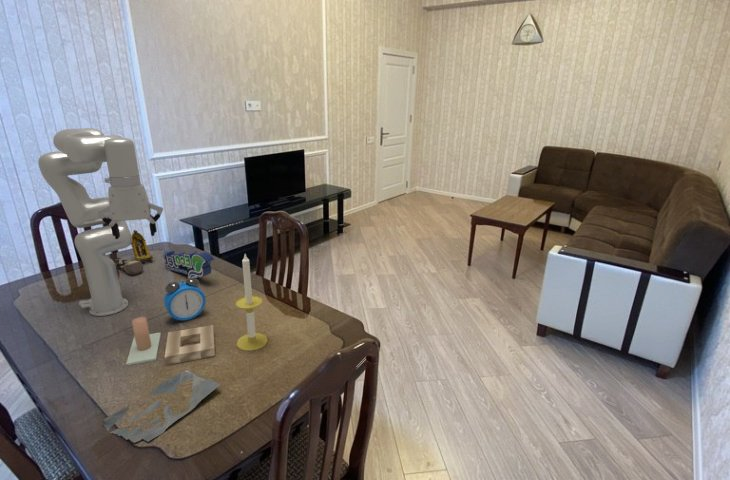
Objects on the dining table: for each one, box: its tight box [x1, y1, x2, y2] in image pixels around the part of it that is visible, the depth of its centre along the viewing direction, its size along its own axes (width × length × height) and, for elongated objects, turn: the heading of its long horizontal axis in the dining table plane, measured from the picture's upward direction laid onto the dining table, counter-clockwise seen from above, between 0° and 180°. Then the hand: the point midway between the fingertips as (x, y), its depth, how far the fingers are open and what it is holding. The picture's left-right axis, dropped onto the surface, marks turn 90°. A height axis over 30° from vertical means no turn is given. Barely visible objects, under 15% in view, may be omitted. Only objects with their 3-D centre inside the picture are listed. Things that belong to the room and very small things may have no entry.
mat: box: [125, 332, 162, 367], centre depth 126 cm, size 8×15×1 cm, turn 21°
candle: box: [235, 253, 269, 352], centre depth 126 cm, size 10×10×32 cm
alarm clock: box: [163, 277, 207, 323], centre depth 142 cm, size 13×6×15 cm, turn 128°
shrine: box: [130, 229, 154, 262], centre depth 189 cm, size 12×8×15 cm
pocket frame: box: [164, 324, 216, 366], centre depth 127 cm, size 14×14×3 cm
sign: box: [162, 249, 215, 279], centre depth 174 cm, size 35×4×14 cm, turn 55°
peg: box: [131, 316, 151, 351], centre depth 124 cm, size 4×4×10 cm
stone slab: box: [102, 369, 221, 443], centre depth 103 cm, size 24×16×2 cm, turn 148°
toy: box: [112, 257, 144, 276], centre depth 180 cm, size 7×8×15 cm
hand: (135, 236), depth 120 cm, fingers open, 9 cm apart
